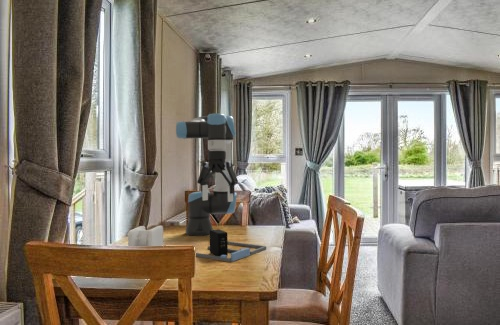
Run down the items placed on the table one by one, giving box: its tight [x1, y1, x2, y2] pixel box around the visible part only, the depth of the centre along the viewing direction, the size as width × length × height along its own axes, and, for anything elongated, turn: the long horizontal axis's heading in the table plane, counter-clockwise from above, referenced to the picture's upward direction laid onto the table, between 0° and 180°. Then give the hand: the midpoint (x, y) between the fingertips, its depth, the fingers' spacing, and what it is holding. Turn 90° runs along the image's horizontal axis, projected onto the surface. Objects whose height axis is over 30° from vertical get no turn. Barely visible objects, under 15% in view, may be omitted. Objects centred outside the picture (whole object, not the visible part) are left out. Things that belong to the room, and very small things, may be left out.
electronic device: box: [209, 228, 229, 257], centre depth 163 cm, size 4×10×10 cm, turn 27°
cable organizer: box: [127, 225, 164, 247], centre depth 165 cm, size 15×11×12 cm
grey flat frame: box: [195, 240, 267, 263], centre depth 168 cm, size 27×23×3 cm
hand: (217, 201), depth 163 cm, fingers open, 13 cm apart
